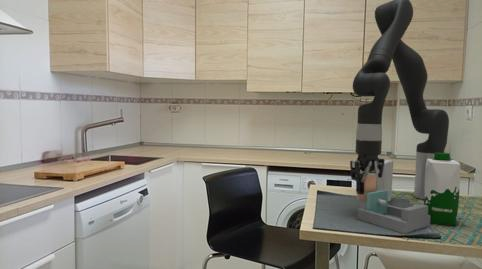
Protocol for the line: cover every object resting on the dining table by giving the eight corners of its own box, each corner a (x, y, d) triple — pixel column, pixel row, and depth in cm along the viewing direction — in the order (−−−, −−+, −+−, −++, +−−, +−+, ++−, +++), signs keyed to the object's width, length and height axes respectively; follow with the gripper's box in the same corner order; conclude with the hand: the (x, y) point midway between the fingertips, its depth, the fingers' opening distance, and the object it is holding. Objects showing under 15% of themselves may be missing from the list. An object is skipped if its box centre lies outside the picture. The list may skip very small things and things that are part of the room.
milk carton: (453, 218, 108) (457, 153, 106) (459, 227, 99) (464, 156, 98) (421, 215, 111) (424, 151, 109) (424, 223, 102) (428, 154, 101)
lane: (382, 212, 113) (383, 194, 112) (430, 226, 100) (431, 205, 100) (357, 218, 106) (358, 199, 105) (404, 233, 93) (405, 211, 93)
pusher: (383, 212, 110) (384, 189, 110) (392, 214, 108) (393, 191, 107) (365, 216, 106) (366, 193, 105) (375, 219, 103) (376, 195, 102)
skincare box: (375, 198, 132) (377, 158, 131) (392, 201, 128) (394, 160, 127) (366, 201, 126) (367, 160, 125) (383, 205, 122) (385, 162, 121)
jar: (364, 197, 114) (365, 170, 114) (379, 200, 110) (380, 173, 109) (352, 199, 111) (354, 172, 111) (368, 203, 107) (369, 174, 106)
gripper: (372, 137, 116) (370, 188, 117) (343, 138, 108) (341, 192, 109) (393, 138, 110) (391, 192, 111) (364, 140, 102) (361, 198, 103)
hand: (366, 192), depth 110 cm, fingers closed on jar, 5 cm apart
